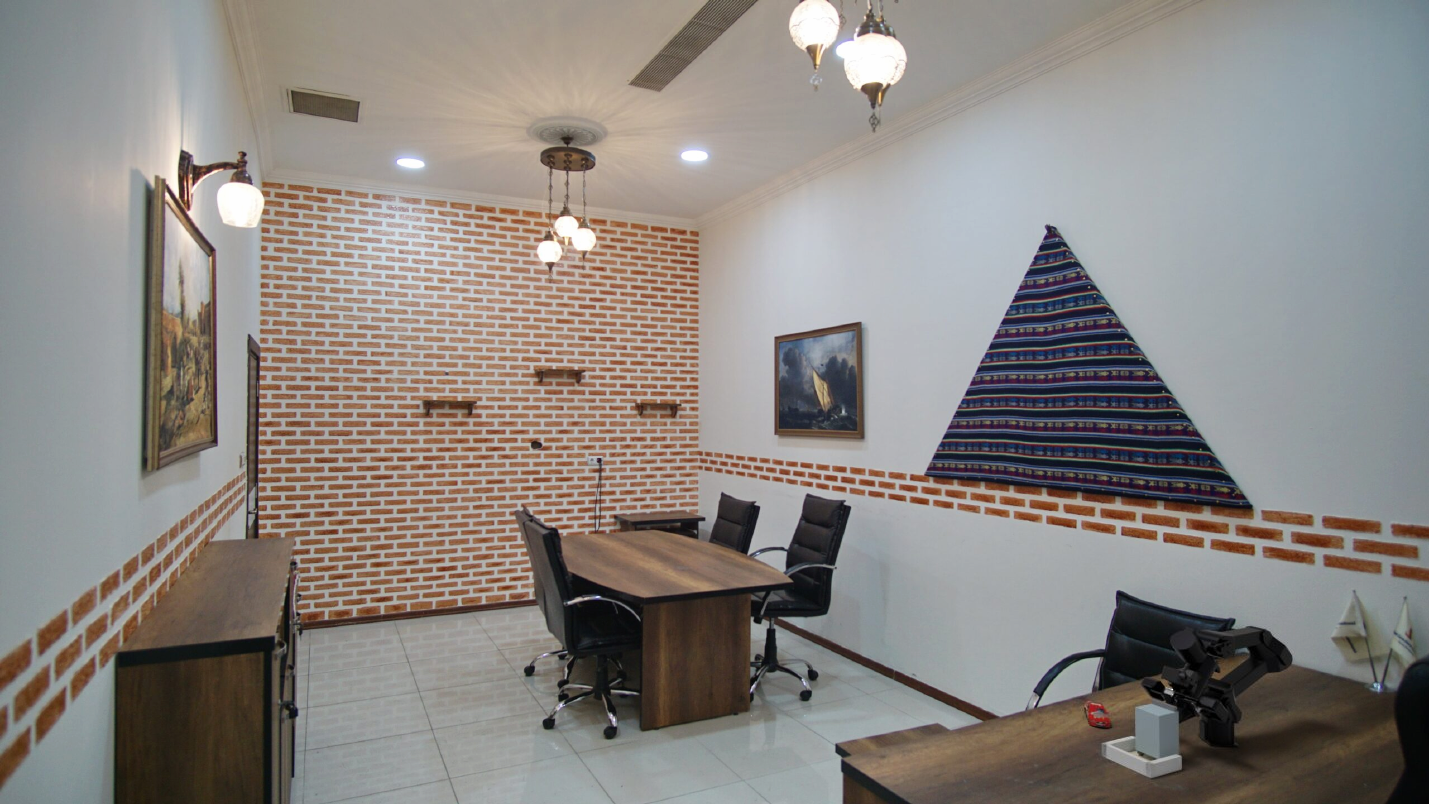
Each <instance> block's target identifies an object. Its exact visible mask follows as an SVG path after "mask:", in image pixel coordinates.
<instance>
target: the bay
mask: <svg viewBox="0 0 1429 804" xmlns="http://www.w3.org/2000/svg"><path fill="white" fill-rule="evenodd" d="M1101 757H1103V758H1105V759H1107V760H1109V761H1112V762H1113V763H1116V764H1119V765H1121V766H1123V767H1124V768H1127V769H1129V770H1132V771H1134V772H1136V773H1138V774H1141V775H1142V776H1144V777H1147V778H1149V779H1153V778H1157V777H1160V776H1165V775H1168V774H1170V773H1174V772H1177V771H1181V770H1183V769H1182V765H1183V764H1182V761H1183V760H1182V759H1183V758H1182V755H1180V754H1178V755H1177V754H1175V755H1171V756H1168V757H1164V758H1160V759H1157V758H1154V757H1152V756H1150V755H1147V754H1144V755H1143V756H1142V755H1139V754H1138V753H1137V750H1136V746H1135V736H1133V735H1131V736H1126V737H1122V738H1118V739H1114V740H1113V739H1112V740H1110V741H1106V742H1102V743H1101Z"/></svg>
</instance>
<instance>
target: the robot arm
mask: <svg viewBox="0 0 1429 804" xmlns="http://www.w3.org/2000/svg"><path fill="white" fill-rule="evenodd" d="M1169 643H1170V646H1172V648H1173V649H1174V650H1175V652H1176V654H1177V655H1178V656H1179V658H1180V659H1181V660H1182V661H1183V662H1184V663H1186V664H1184V667H1183V668H1174V667H1172V666H1171V667H1170V666H1167V665H1164V666H1163V669H1162V672H1161V676H1160V679H1162V680H1166V681H1167V685H1168V686H1169V687H1167V686H1165V685H1164V683H1163V682H1162V681H1161V680H1160V679H1159V680H1158V679H1156V678H1153V677H1149V676H1145V677H1144V678H1143V679H1142V681H1141V682H1140V685H1141V687H1142V688H1143V690H1144V691H1145V693H1147V695H1148V696H1149V697H1150V698H1152V699H1156V700H1158V701H1161V702H1165V703H1167V704H1170V705H1173V706H1176V707H1177V711H1179V725H1180V724H1182V723H1183V722H1186V721H1188V720H1190V719H1193V718H1199V717H1200V718H1201V719H1199V721H1198V722H1199V726H1198V727H1199V731H1198V733H1197V736H1198V737H1200V739H1202V740H1203V741H1205V742H1206V743H1207V744H1208V745H1210V746H1212V747H1230V748H1232V747H1233V748H1238V747H1239V744H1238V743H1237V742H1236V741H1235V724H1237V725H1238V724H1240V723H1239V722H1242V721H1241V720H1242V715H1243V711H1241V709H1240V707H1239V706H1238V705H1237V703H1236V702H1237V701H1236V698H1237V697H1239V696H1240V695H1241V694H1243V693H1244V692H1245V691H1246V690H1247V689H1249V688H1250V687H1251V686H1253V685H1254V684H1255V683H1256V682H1258V681H1260V679H1262V678H1263V677H1264V676H1265V675H1267V674H1275V673H1277V674H1278V673H1281V672H1283V671H1286V670H1287V669H1288V668H1290V666H1292V664H1293V660H1294V658H1293V654H1292V653H1291V651H1290V650H1289V648H1288V647H1287V645H1285V644H1284V643H1283V642H1281V640H1279V639H1278V638H1276V637H1275V636H1274V635H1273V634H1272V632H1271V631H1270V630H1268V629H1267V628H1263V627H1258V626H1253V625H1247V626H1245V627H1241V628H1236V629H1231V630H1225V631H1216V630H1209V629H1200V630H1198V631H1196V630H1195V629H1194V628H1191V627H1187V626H1186V627H1185V628H1184V630H1180V631H1176V632H1175V633H1174V634H1172V635H1171V636H1170V640H1169ZM1242 649H1246V650H1247V651H1248V652H1249V654H1248V655H1249V656H1248V658H1247V659H1246V660H1244V661H1243V662H1242V663H1240V664H1239V665H1238V666H1236V667H1234V668H1233V669H1231V671H1229V672H1228V673H1227V674H1225V675H1224V676H1223V677H1221V678H1220V679H1217V678H1214V677H1213V676H1214V673H1217V674H1221V668H1220V665H1219V661H1218V660H1215V659H1214V657H1216V658H1220V659H1223V660H1224V659H1226V660H1227V658H1230V657H1232V656H1234V655H1235V651H1237V650H1242Z"/></svg>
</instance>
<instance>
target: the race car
mask: <svg viewBox="0 0 1429 804" xmlns="http://www.w3.org/2000/svg"><path fill="white" fill-rule="evenodd" d="M1083 709H1084V710H1083V711H1084V715H1085V717H1086V720H1087V722H1088V724H1089V726H1093V727H1098V728H1111V719H1110V716H1109V714H1110V712H1109V711H1107V710H1106V709H1105V706H1104V704H1103V703H1101V702H1096V701H1088V700H1087V701H1085V703H1084V708H1083Z"/></svg>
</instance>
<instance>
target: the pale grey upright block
mask: <svg viewBox="0 0 1429 804" xmlns="http://www.w3.org/2000/svg"><path fill="white" fill-rule="evenodd" d="M1134 710H1135V711H1134V713H1135V715H1134V717H1135V719H1134V721H1135V724H1134V726H1135V728H1134V729H1135V734H1134V737H1135V746H1136V750H1137V753H1138V754H1139V755H1142V756H1143V755H1144V754H1147V755H1149V756H1152V757H1154V758H1157V759H1160V758H1164V757H1168V756H1171V755H1175V754H1177V755H1180V734H1179V733H1180V730H1179V729H1180V728H1179V727H1180V724H1179V711H1177V707H1176V706H1173V705H1170V704H1167V703H1166V702H1165V701H1163V702H1162V701H1159V700H1156V699H1154V698H1152V700H1151V703H1149V704H1145V705H1140V706H1135V709H1134Z"/></svg>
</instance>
